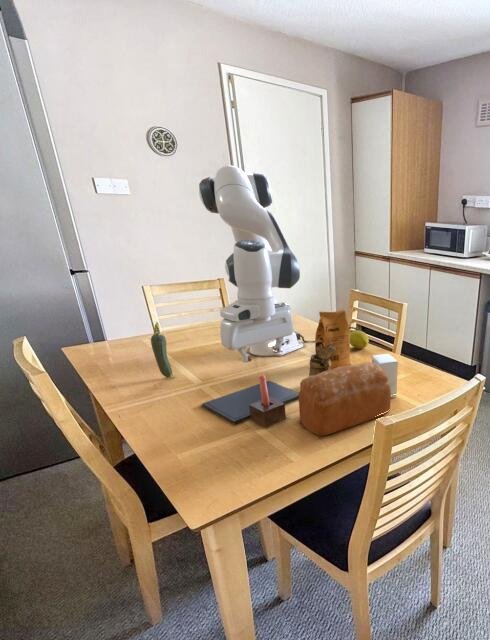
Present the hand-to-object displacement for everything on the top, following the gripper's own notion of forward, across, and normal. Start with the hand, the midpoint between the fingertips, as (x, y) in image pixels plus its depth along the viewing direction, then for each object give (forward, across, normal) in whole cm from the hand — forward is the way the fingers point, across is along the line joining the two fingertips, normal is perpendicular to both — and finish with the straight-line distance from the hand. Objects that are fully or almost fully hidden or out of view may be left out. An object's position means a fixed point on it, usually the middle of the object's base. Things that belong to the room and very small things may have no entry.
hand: (262, 356), depth 112 cm
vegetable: (+20, +5, -50) cm, 54 cm away
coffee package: (+20, -43, -18) cm, 50 cm away
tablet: (+20, -4, -13) cm, 24 cm away
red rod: (+19, 0, 0) cm, 19 cm away
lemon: (+20, -65, -25) cm, 72 cm away
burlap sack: (+20, -25, -4) cm, 32 cm away
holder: (+19, 0, 0) cm, 19 cm away
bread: (+20, -16, +16) cm, 30 cm away
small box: (+20, -36, +14) cm, 43 cm away
